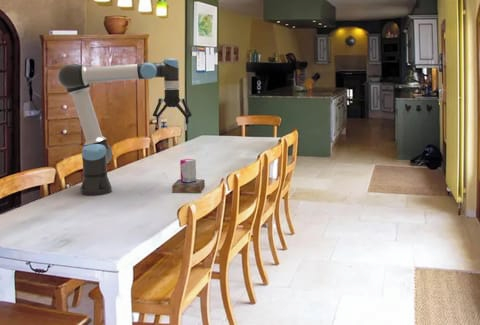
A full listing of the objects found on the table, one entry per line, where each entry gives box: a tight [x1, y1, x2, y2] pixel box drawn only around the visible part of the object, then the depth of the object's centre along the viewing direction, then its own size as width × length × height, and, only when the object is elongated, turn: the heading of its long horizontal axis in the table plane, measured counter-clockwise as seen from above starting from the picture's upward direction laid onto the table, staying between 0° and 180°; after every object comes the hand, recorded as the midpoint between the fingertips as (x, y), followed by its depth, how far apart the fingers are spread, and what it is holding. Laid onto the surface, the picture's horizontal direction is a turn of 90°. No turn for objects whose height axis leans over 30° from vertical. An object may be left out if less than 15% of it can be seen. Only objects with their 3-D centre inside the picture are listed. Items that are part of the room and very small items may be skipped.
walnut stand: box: [171, 178, 206, 194], centre depth 293 cm, size 14×14×4 cm
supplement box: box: [179, 158, 197, 183], centre depth 291 cm, size 6×6×12 cm
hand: (172, 130), depth 300 cm, fingers open, 13 cm apart
